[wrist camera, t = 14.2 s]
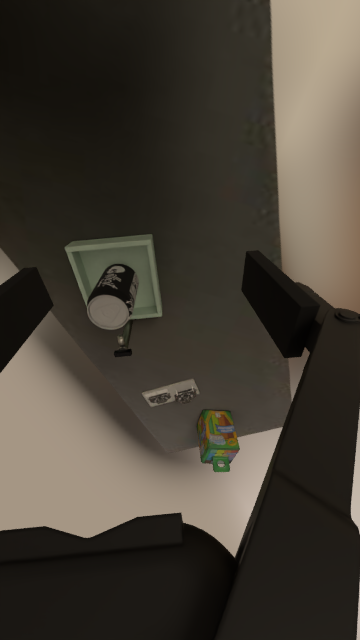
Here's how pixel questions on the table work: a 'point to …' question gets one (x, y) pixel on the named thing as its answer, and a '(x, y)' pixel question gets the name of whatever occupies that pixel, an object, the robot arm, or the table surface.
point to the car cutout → (172, 393)
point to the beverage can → (113, 297)
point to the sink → (127, 250)
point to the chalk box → (217, 439)
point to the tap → (124, 341)
